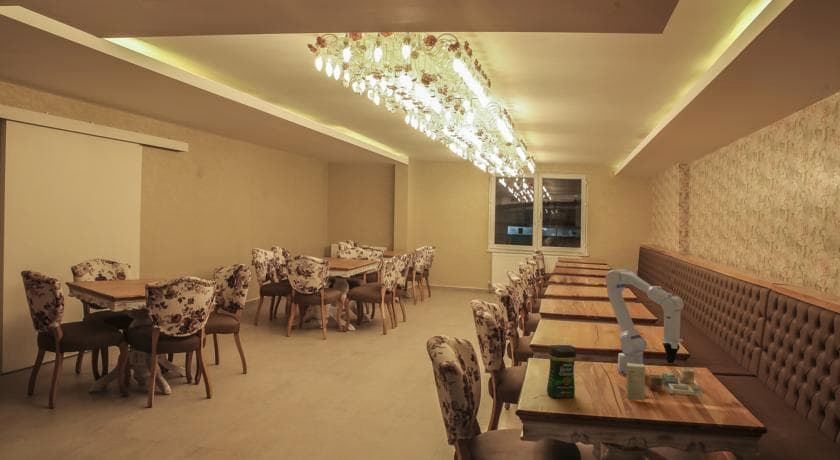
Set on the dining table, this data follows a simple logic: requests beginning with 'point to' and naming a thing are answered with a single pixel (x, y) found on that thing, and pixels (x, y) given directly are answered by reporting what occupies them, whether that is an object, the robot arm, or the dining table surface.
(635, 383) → the skincare box
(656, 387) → the walnut block
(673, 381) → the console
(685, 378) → the beech block
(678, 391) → the grey compartment tray
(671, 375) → the button
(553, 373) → the coffee jar
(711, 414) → the dining table surface
